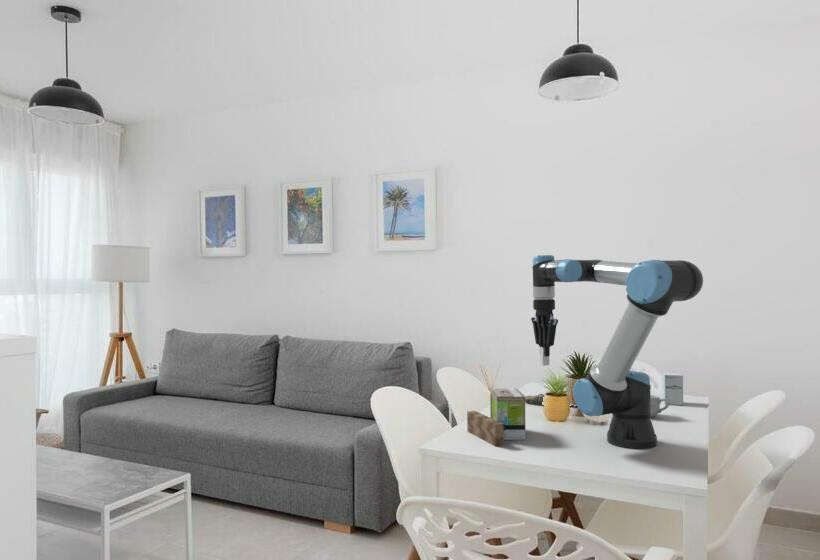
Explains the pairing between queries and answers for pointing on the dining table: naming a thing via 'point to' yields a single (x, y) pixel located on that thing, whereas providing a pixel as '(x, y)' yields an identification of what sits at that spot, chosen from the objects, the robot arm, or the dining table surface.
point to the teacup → (657, 405)
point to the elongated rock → (535, 399)
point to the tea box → (509, 412)
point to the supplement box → (672, 388)
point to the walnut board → (485, 428)
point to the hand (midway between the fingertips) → (544, 365)
